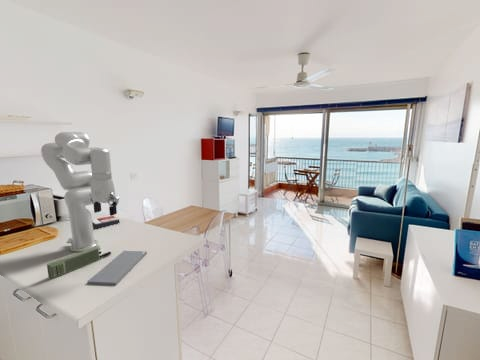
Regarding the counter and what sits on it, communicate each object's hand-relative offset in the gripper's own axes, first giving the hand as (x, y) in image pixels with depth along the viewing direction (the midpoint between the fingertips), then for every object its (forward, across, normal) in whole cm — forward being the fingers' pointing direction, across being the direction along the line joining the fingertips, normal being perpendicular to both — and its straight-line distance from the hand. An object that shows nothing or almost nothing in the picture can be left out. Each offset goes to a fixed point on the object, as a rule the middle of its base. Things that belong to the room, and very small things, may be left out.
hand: (105, 213), depth 108 cm
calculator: (+25, -44, +33) cm, 60 cm away
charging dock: (+23, +10, -3) cm, 25 cm away
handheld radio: (+24, -7, -8) cm, 26 cm away
